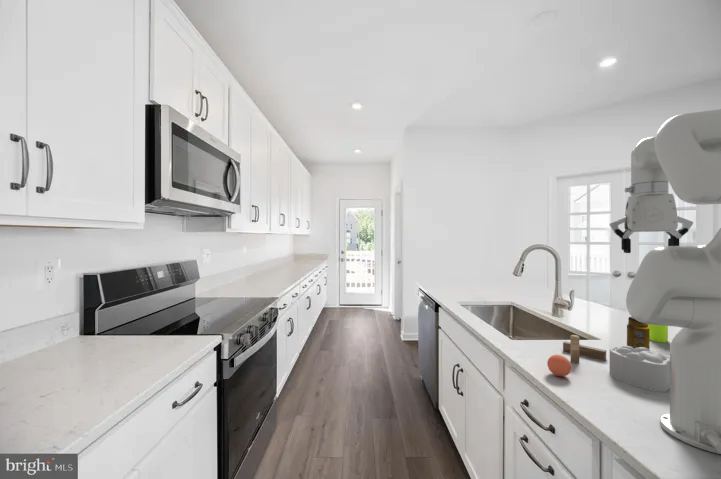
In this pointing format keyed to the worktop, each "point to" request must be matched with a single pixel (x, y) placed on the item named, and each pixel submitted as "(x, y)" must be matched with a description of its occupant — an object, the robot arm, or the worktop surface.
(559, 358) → the ball
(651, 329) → the soap dispenser
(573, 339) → the pin
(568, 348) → the wall
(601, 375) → the worktop surface
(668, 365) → the paw print mold
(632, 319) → the condiment
